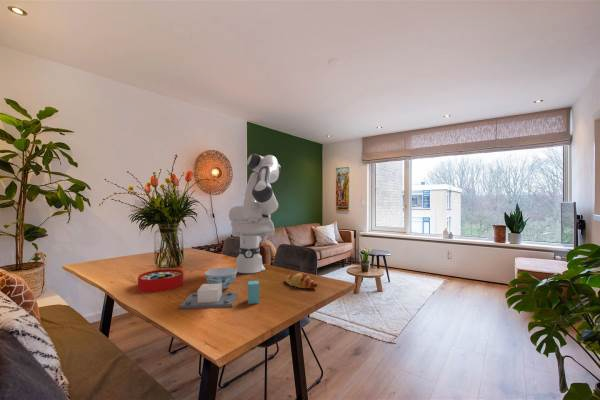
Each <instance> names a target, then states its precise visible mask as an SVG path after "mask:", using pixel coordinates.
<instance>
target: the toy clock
mask: <svg viewBox="0 0 600 400" xmlns="http://www.w3.org/2000/svg"><path fill="white" fill-rule="evenodd" d="M183 284H184V271H183V270H181V269H178V268H176V269H175V268H165V269H155V270H151V271H149V270H148V271H146V272H143V273H140V274H139V275H138V276H137V290H138V291H139V292H143V293H158V292H159V293H161V292H167V291H171V290H170V289H172V290H174V288H175V289H177V287H178V288H180V287H182V286H183ZM166 290H167V291H166ZM160 291H161V292H160Z"/></svg>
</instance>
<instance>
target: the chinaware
mask: <svg viewBox="0 0 600 400" xmlns="http://www.w3.org/2000/svg"><path fill="white" fill-rule="evenodd" d="M234 268H235V267H234ZM234 268H233V267H216V268H211V269H208V270H206V271H204V275H205V278H206V281H207V282H208V284H222V290H226V289H228V288H229V285H231V284H232V283H233V282H234V280H235V278H236V276H237V273H238V272H237V270H236V269H234Z"/></svg>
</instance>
